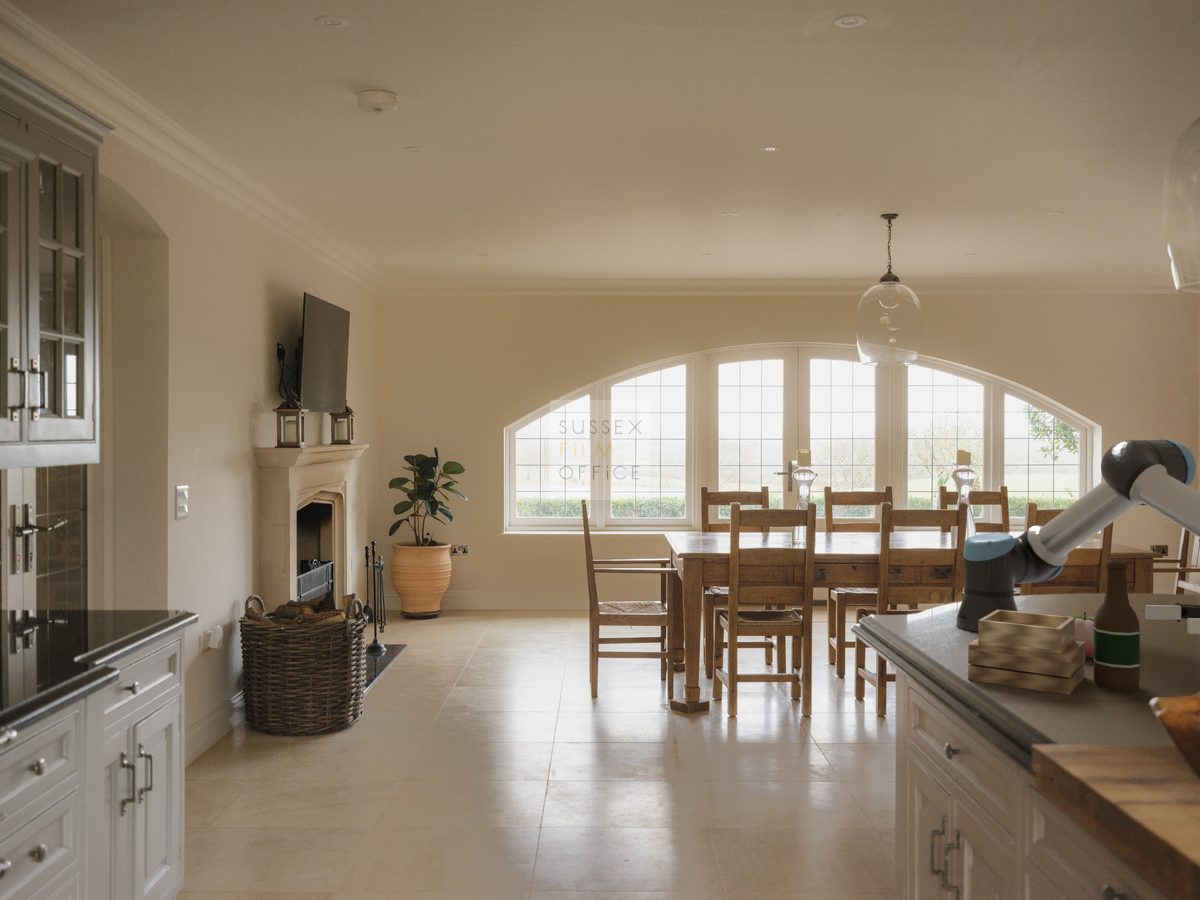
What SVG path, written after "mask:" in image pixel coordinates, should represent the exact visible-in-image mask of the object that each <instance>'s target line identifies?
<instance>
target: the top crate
mask: <svg viewBox="0 0 1200 900" xmlns="http://www.w3.org/2000/svg"><path fill="white" fill-rule="evenodd" d="M977 634H978V637H977V638H978V645H984V646H992V647H1000V648H1008V649H1016V650H1024V651H1032V652H1040V653H1048V654H1056V655H1061V654H1062V653H1063V652H1064V651H1065V650H1066V649H1067V648H1068V647H1070V646H1071V645H1072V644H1073V643H1074V642H1075V617H1068V616H1064V615H1054V614H1044V613H1033V612H1023V611H1018V612H1016V611H1006V610H996V611H994V612H992V613H990V614H989V615H987V616H985V617H983V618H982V619H980V620H978V632H977Z"/></svg>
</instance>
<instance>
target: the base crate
mask: <svg viewBox="0 0 1200 900" xmlns="http://www.w3.org/2000/svg"><path fill="white" fill-rule="evenodd" d="M967 646H968V647H967V648H968V649H967V652H968V653H967V656H968V657H967V661H968V662H967V663H968V664H969V665H967V672H968V673H967V676H968V677H967V678H968V679H967V680H968V681H973V682H980V683H981V682H982V683H988V684H994V685H1001V686H1007V687H1009V686H1010V687H1015V688H1022V689H1028V690H1035V691H1041V692H1042V691H1043V692H1050V693H1055V694H1062V695H1068V696H1070V695H1072V693H1073V691H1075V689H1076V688H1077V687H1078V686H1079V685H1080V684H1081V682H1082V681H1083V680H1084V679H1085V678H1086V663H1085V662H1086V658H1085V642H1080V641H1075V642H1074V643H1073V644H1072V645H1071V646H1070V647H1068V648H1067V649H1066V650H1065V651H1064V652H1063V653H1062V654H1061V655H1056V654H1048V653H1040V652H1032V651H1024V650H1016V649H1008V648H1000V647H992V646H984V645H978V637H977V638H976V639H974V640H972V641H971V642H970V643H968V645H967Z"/></svg>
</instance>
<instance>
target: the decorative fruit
mask: <svg viewBox="0 0 1200 900" xmlns="http://www.w3.org/2000/svg"><path fill="white" fill-rule="evenodd" d="M1067 617H1075V641H1080V642H1085V659H1086V658H1089V657H1092V656H1094V618H1095V616H1087V613H1086V611H1083V616H1082V615H1078V614H1077V615H1068V616H1067Z"/></svg>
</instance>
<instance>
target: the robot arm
mask: <svg viewBox="0 0 1200 900" xmlns="http://www.w3.org/2000/svg"><path fill="white" fill-rule="evenodd" d="M1196 463H1197V462H1196V459H1195V456H1194V454H1193V453H1192V451H1191V450H1190V448H1188V447H1187V446H1186V445H1185V444H1183V443H1181V442H1179V441H1176V440H1170V439H1164V438H1162V439H1144V440H1143V439H1127V440H1122V441H1119V442H1117V443H1115V444H1114V445H1111V446H1110V448H1108V449H1107V450H1106V452H1104V454H1103V456H1102V460H1101V464H1100V470H1101V475H1102V477H1103V480H1102V481H1101V482H1100V483H1099V484H1098V485H1096V486H1095V487H1094V488H1092V489H1091V490H1090V491H1088V492H1087V493H1085V494H1084V495H1083V496H1082V497H1080V498H1079V499H1077V501H1075V502H1074V503H1072V504H1071V505H1070V506H1068V507H1066V509H1064V510H1063V511H1062V512H1061V513H1059V514H1057V515H1056V516H1055V517H1053V518H1052V519H1051V520H1050V521H1049V522H1047V523H1046V524H1044V525H1043V526H1042V525H1038V524H1037V525H1033V526H1031V527H1029V529H1027V530H1026V531H1024V532H1023V533H1022V534H1020V535H1019V536H1017V537H1013V535H1011V534H1008V533H999V532H997V533H993V532H992V533H981V534H975V535H972V536H969V537H968V538H967V539H966V540H965V541H964V548H963V553H962V555H963V597H962V600H961V602H960V603H961V604H960V607H959V609H958V612H957V615H956V627H958V628H959V629H963V630H964V631H965V630H966V631H971V632H977V633H978V620H980V619H982V618H983V617H985V616H987V615H989V614H990V613H992V612H994V611H996V610H1006V611H1016V612H1019V610H1018V607H1017V604H1016V601H1015V585H1017V584H1018V585H1019V584H1030V583H1032V584H1033V583H1034V584H1035V583H1036V584H1040V583H1045V582H1048V581H1051V580H1053V579H1055V578H1056V577H1058V576H1059V575H1060V573H1061V572H1062V571H1063V569H1064V565H1065V564H1066V563H1067V562H1068V559H1069V554H1070V552H1072V551H1073V550H1075V549H1076V548H1077V547H1079V546H1081V545H1082V544H1084V543H1085V542H1086V541H1087V540H1089V539H1091V538H1092V537H1093V536H1095V535H1096V534H1098V533H1099V532H1100V531H1102V530H1104V529H1105V528H1106V527H1108V526H1109V525H1110V524H1112V523H1113V522H1115V521H1116V520H1118V519H1119V518H1120V517H1122V516H1123V515H1125V514H1126V513H1128V512H1130V511H1131V510H1132V509H1134V508H1135V507H1136V506H1140V507H1147V506H1148V508H1151V509H1153V510H1154V511H1155V512H1157V513H1159V514H1160V515H1162V516H1163V517H1165V518H1166V519H1168V520H1170V521H1172V522H1173V523H1174V524H1177V525H1178V526H1180V527H1182V528H1183V529H1185V530H1186V531H1188V532H1190V533H1191V534H1193V535H1195V536H1196V537H1198V538H1199V539H1200V492H1199V491H1198V490H1196V489H1194V488H1192V487H1190V485H1191V484H1192V483H1193V481H1194V479H1195V478H1196V472H1197V471H1196V469H1197V464H1196ZM1144 609H1145V610H1144V611H1145V612H1144V613H1145V619H1146V620H1150V621H1151V620H1158V621H1159V620H1160V621H1161V620H1162V621H1168V620H1169V621H1170V620H1173V621H1176V622H1178V623H1180V622H1182V619H1184V620H1186V621H1187V622H1186V624H1187V625H1186V626H1187V627H1186V628H1187V629H1186V633H1187V634H1189V635H1190V634H1191V635H1193V634H1194V635H1200V604H1189V603H1188V604H1186V603H1179V602H1176V603H1174V605H1172V604H1169V605H1168V604H1167V605H1165V604H1164V605H1162V604H1161V605H1156V604H1155V605H1149V604H1147V605H1145V608H1144Z"/></svg>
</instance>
